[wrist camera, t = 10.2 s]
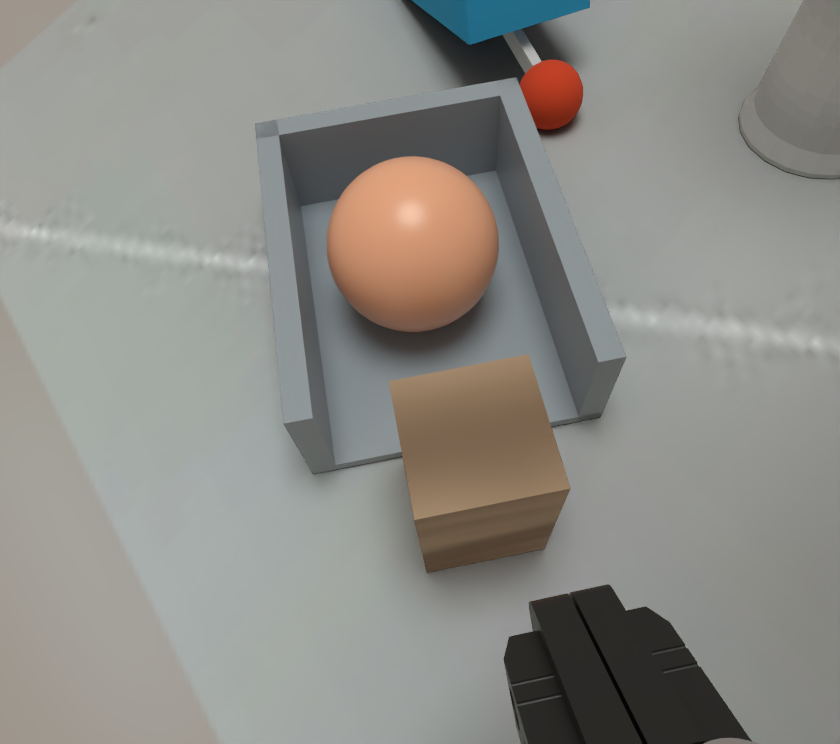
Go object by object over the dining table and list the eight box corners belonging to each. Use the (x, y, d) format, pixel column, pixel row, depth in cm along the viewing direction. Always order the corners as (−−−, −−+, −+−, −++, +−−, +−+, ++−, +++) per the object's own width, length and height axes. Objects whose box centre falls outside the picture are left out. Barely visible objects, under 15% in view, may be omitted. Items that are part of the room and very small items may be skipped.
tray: (600, 417, 27) (626, 356, 23) (313, 474, 27) (283, 423, 22) (509, 160, 34) (516, 77, 30) (282, 202, 34) (254, 123, 30)
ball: (506, 238, 22) (504, 360, 28) (493, 112, 26) (493, 242, 32) (299, 252, 22) (338, 369, 28) (317, 126, 26) (348, 251, 32)
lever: (396, 51, 47) (506, 158, 34) (376, -64, 42) (496, 14, 29) (485, 23, 48) (623, 118, 35) (476, -92, 43) (633, -28, 30)
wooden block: (544, 548, 25) (570, 488, 19) (426, 572, 25) (414, 519, 19) (514, 440, 27) (528, 353, 21) (405, 461, 27) (388, 381, 21)
